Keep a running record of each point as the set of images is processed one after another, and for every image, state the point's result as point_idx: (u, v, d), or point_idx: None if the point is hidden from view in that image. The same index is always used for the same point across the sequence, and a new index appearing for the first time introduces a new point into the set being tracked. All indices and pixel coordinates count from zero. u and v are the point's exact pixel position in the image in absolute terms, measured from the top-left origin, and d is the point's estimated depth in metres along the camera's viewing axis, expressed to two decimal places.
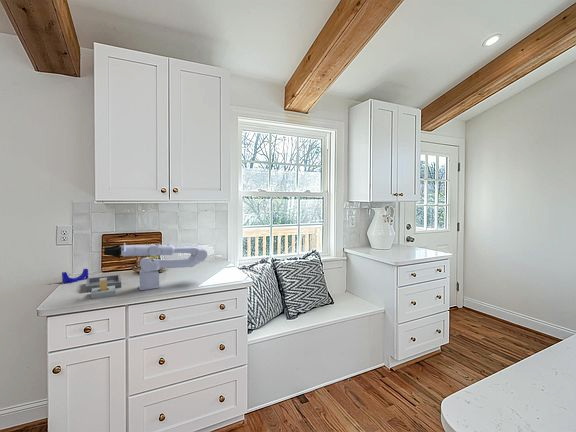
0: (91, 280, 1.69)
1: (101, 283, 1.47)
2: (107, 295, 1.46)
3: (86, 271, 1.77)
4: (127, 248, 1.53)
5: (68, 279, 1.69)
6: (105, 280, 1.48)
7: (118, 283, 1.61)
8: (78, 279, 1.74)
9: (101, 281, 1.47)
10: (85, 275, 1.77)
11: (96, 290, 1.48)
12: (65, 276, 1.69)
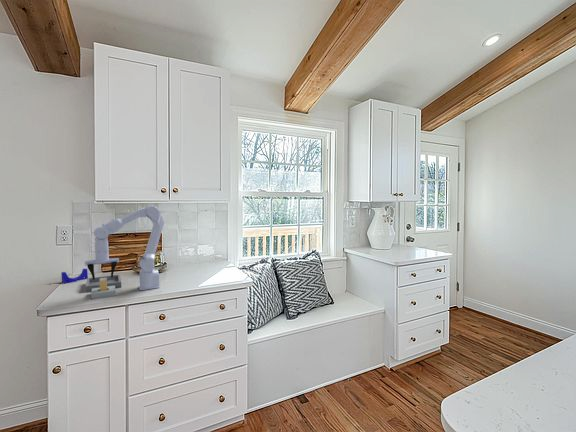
0: (91, 280, 1.69)
1: (101, 283, 1.47)
2: (107, 295, 1.46)
3: (85, 271, 1.78)
4: (107, 258, 1.48)
5: (68, 279, 1.70)
6: (105, 280, 1.48)
7: (118, 283, 1.61)
8: (77, 279, 1.75)
9: (101, 281, 1.47)
10: (84, 275, 1.77)
11: (96, 290, 1.48)
12: (65, 276, 1.70)
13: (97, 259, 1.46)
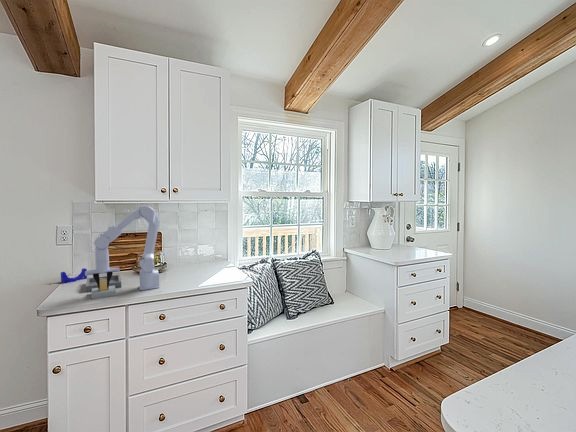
0: (91, 280, 1.69)
1: (101, 283, 1.48)
2: (107, 295, 1.46)
3: None
4: (108, 267, 1.49)
5: (67, 279, 1.70)
6: (105, 280, 1.48)
7: (118, 283, 1.61)
8: (77, 279, 1.75)
9: (101, 281, 1.47)
10: (84, 275, 1.78)
11: (96, 290, 1.48)
12: (64, 276, 1.70)
13: (97, 269, 1.46)
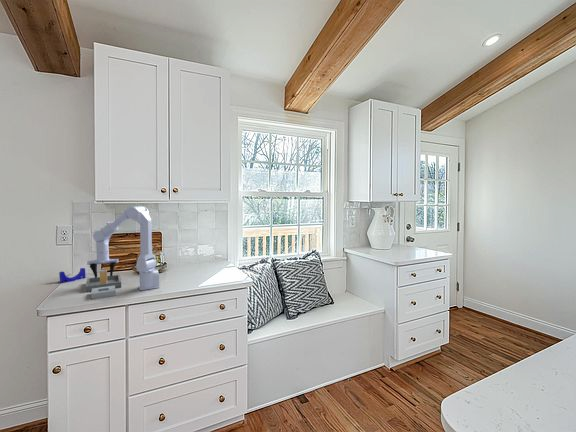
0: (91, 280, 1.69)
1: (101, 274, 1.62)
2: (107, 295, 1.46)
3: (83, 270, 1.79)
4: (107, 258, 1.63)
5: (66, 278, 1.71)
6: (104, 271, 1.63)
7: (118, 283, 1.61)
8: (75, 278, 1.76)
9: (101, 272, 1.62)
10: (82, 274, 1.79)
11: (96, 290, 1.48)
12: (63, 275, 1.71)
13: (98, 259, 1.61)
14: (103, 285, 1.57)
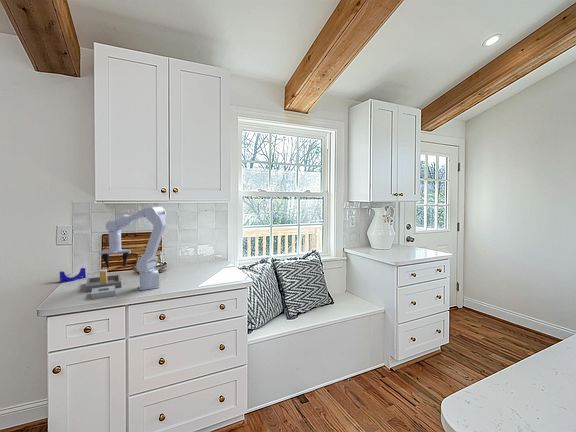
0: (91, 280, 1.69)
1: (101, 274, 1.62)
2: (107, 295, 1.46)
3: (83, 270, 1.79)
4: (119, 249, 1.62)
5: (66, 278, 1.71)
6: (104, 271, 1.63)
7: (118, 283, 1.61)
8: (76, 278, 1.76)
9: (101, 272, 1.62)
10: (82, 274, 1.79)
11: (96, 290, 1.48)
12: (63, 275, 1.71)
13: (110, 249, 1.60)
14: (103, 285, 1.57)
